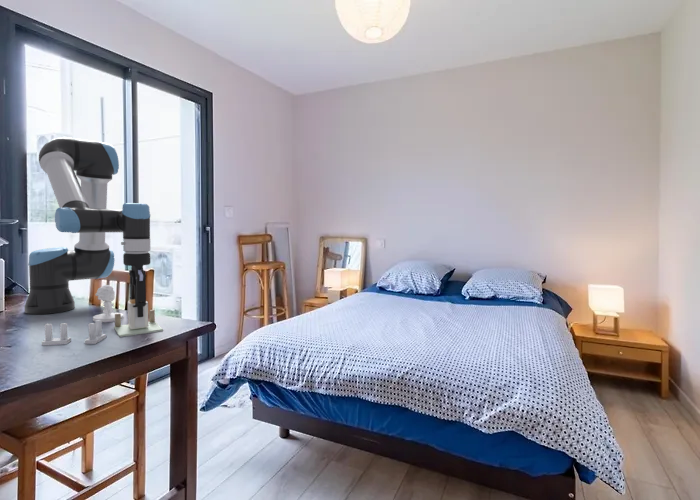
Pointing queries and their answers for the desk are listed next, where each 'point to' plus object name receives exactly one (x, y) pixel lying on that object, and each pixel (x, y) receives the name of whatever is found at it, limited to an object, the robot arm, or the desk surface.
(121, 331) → the holder
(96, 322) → the clip
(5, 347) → the desk surface
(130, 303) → the connector
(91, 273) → the robot arm
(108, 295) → the figurine
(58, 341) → the clip
